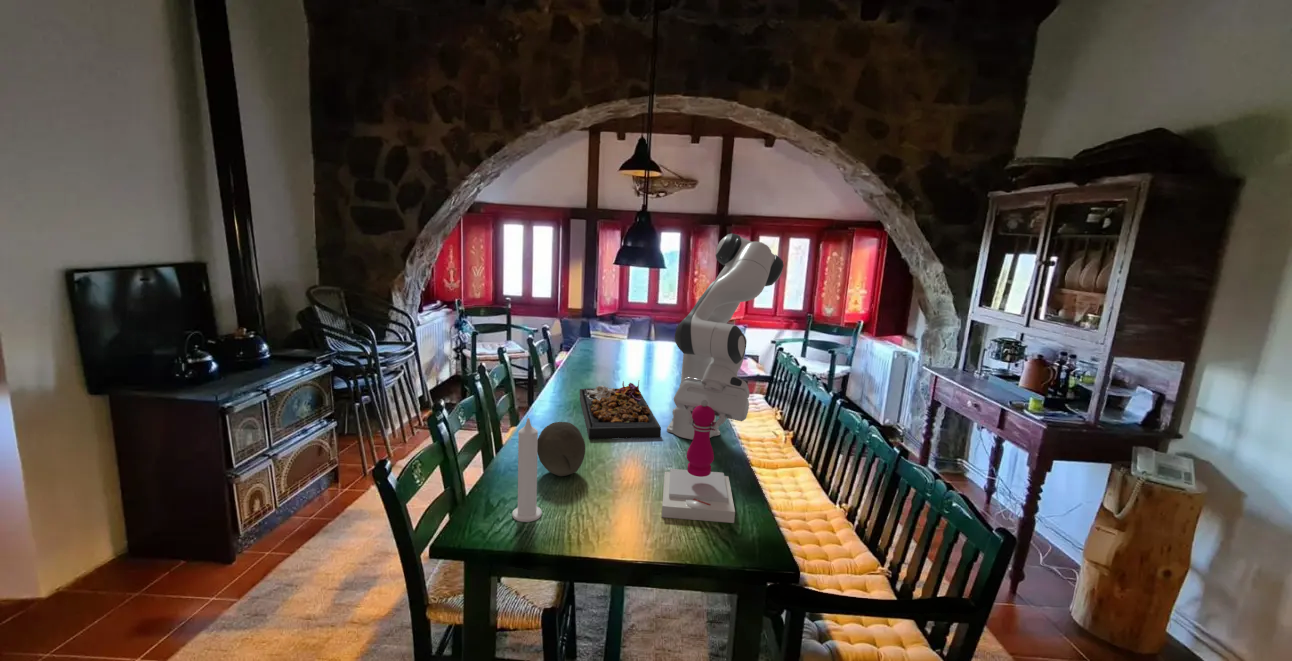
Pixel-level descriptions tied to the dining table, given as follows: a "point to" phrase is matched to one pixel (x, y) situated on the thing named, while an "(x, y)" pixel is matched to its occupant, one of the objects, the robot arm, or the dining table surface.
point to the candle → (527, 475)
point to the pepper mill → (701, 441)
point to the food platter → (618, 413)
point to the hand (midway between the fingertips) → (702, 427)
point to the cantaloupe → (561, 448)
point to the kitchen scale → (697, 497)
